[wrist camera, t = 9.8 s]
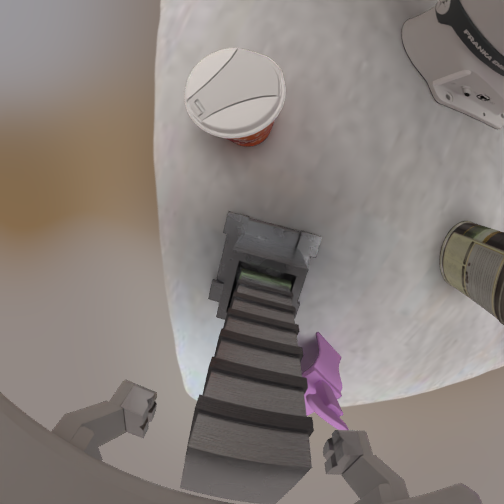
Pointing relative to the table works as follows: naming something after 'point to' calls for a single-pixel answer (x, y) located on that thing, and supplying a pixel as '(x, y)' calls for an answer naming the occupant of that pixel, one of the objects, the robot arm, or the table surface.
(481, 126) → the table surface
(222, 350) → the column
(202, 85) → the paper cup
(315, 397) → the toy chair
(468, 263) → the coffee can
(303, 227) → the table surface
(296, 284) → the stand
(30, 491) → the robot arm
